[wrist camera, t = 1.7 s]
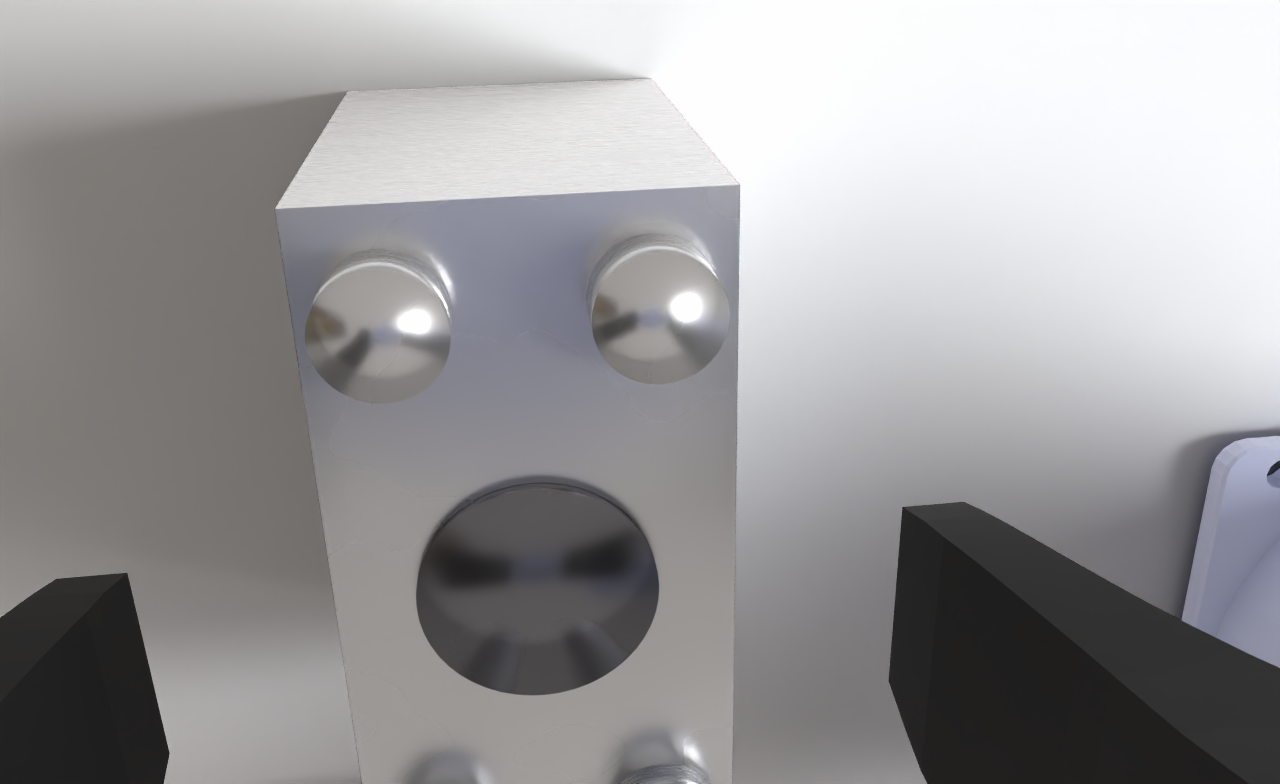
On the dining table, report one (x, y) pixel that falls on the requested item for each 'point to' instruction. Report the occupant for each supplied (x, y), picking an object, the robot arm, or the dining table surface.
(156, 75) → the dining table surface
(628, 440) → the block
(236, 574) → the dining table surface
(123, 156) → the dining table surface
